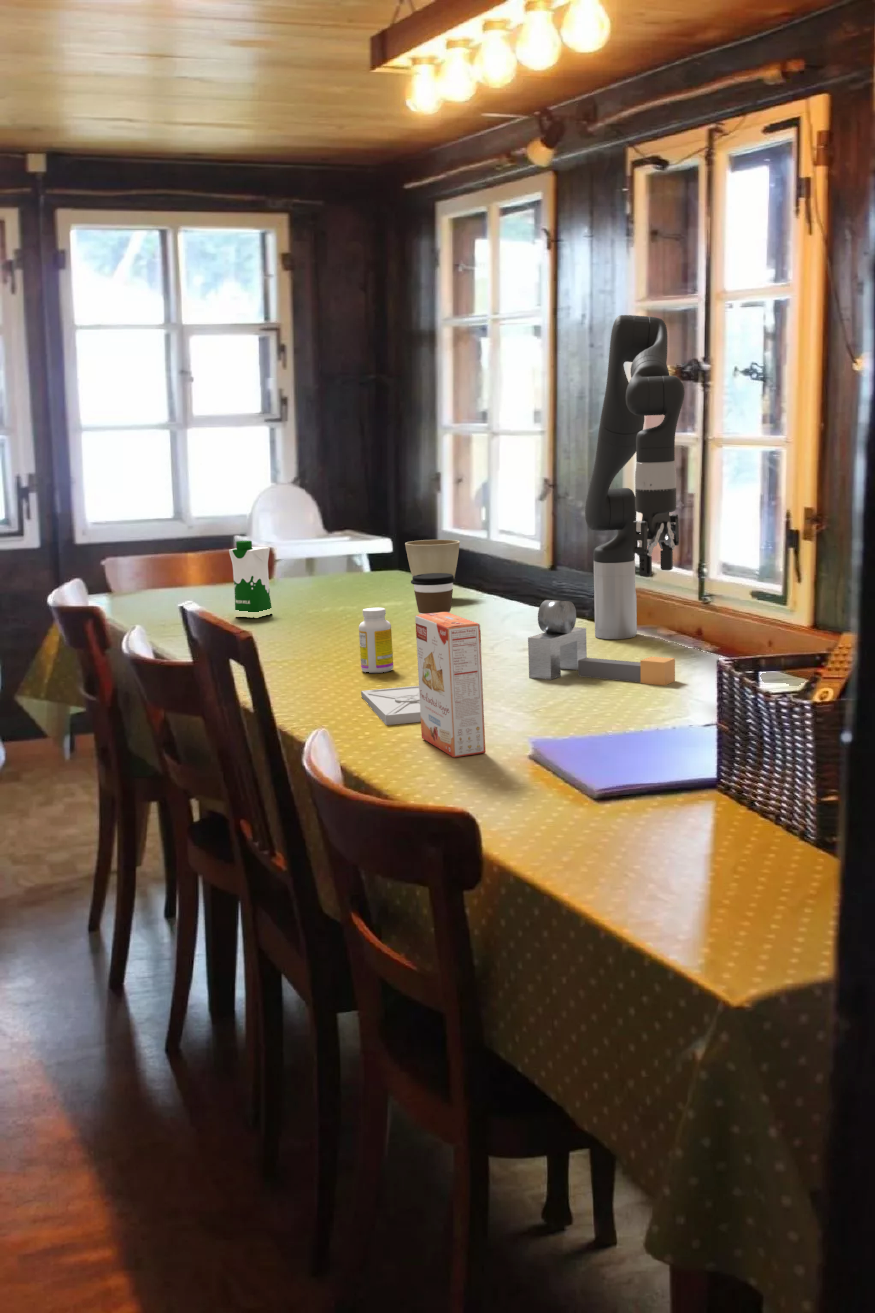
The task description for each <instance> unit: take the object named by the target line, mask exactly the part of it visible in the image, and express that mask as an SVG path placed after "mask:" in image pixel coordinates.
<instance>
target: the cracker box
mask: <svg viewBox="0 0 875 1313" xmlns="http://www.w3.org/2000/svg"><path fill="white" fill-rule="evenodd" d="M414 620H415V636H416V654H417V655H416V656H417V673H418V674H417V675H418V686H419V695H420V714H421V722H420V729H421V739H423V740H425V741H426V742H427V743H429V744H431V745H433V747H436V748H438V749H439V750H440V751H443V752H444V753H446V754H447V755H449V757H451V758H460V757H467V756H473V755H480V754H485V753H486V736H485V734H486V732H485V710H484V708H485V707H484V688H483V686H484V685H483V684H484V683H483V661H482V657H483V656H482V639H481V635H482V634H481V624H480V623H478V622H475V621H472V620H470V619H467V618H463V617H461V616H459V615H456V614H454V613H451V612H450V613H448V612H439V613H426V614H419V613H418V614H416V615H415V618H414Z"/></svg>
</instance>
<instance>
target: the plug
mask: <svg viewBox="0 0 875 1313" xmlns="http://www.w3.org/2000/svg"><path fill="white" fill-rule="evenodd" d="M577 672H578V673H577V675H578V677H583V678H584V677H585V678H592V679H602V680H603V679H604V680H613V681H623V682H624V681H625V682H632V683H633V682H635V683H640V684H647V685H656V686H667V685H669V684H671V683H673V682H675V681H676V658H674V657H673V658H672V657H663V656H661V657H660V656H649V657H646V658H644V659H640V661H629V660H621V659H620V660H619V659H618V660H616V659H608V658H607V659H606V658H595V657H587V658H583V659H581V660H578V670H577Z"/></svg>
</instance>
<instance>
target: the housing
mask: <svg viewBox="0 0 875 1313" xmlns="http://www.w3.org/2000/svg"><path fill="white" fill-rule="evenodd" d="M537 612H538V613H537V624H538V627H539V628H540V630H541V631H542V632H541V633H538V634H535V635H533V636H529V637H527V645H528V646H527V647H528V648H527V651H528V678H529V679H537V680H538V679H539V680H540V679H541V680H547V681H548V680H550V681H551V680H555V679H558V678H560V677H562V676H561V675H562V673H561V671H562V670H574V671H578V660H581V659H583V658H588V654H587V652H588V651H587V650H588V648H587V628H586V627H578V626H576V621H577V611H576V607H575V605H574V603H573V602H572V601H568V600H553V599H552V600H551V599H545V600H544V601H542V603H541V604H540V606H539V609H538V611H537Z"/></svg>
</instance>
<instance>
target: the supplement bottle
mask: <svg viewBox="0 0 875 1313" xmlns="http://www.w3.org/2000/svg"><path fill="white" fill-rule="evenodd" d="M386 612H387V610H386V608H384V607H368V608H363V609H362V616H363V621H361V622H360V624H359V625H358V637H359V653H360V654H359V655H360V656H359V657H360V668H361V671H362V672H364V673H366V672H369V673H368V674H383V672H384V673H388V672H390V671H392V670H393V669H394V657H393V656H394V655H393V653H394V652H393V639H392V638H393V635H392V625H391V622H390V621H389V620H387V619H386V617H385V616H386Z"/></svg>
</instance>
